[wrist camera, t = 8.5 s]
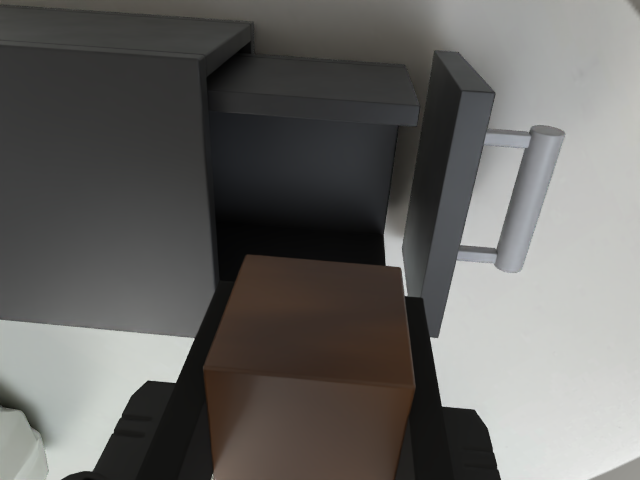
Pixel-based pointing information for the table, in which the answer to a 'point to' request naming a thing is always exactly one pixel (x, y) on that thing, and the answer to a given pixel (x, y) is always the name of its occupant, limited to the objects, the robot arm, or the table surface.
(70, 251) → the cabinet
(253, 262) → the block
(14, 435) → the vase
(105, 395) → the table surface
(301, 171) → the drawer
